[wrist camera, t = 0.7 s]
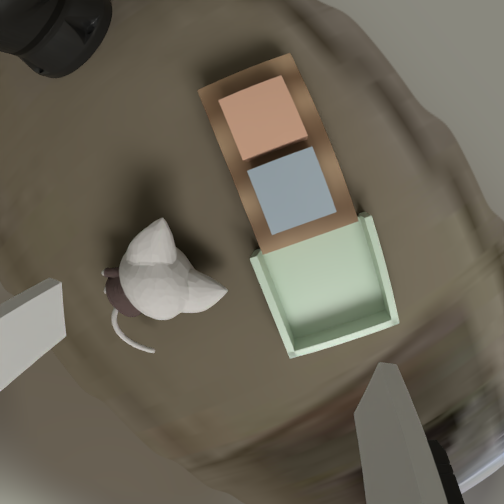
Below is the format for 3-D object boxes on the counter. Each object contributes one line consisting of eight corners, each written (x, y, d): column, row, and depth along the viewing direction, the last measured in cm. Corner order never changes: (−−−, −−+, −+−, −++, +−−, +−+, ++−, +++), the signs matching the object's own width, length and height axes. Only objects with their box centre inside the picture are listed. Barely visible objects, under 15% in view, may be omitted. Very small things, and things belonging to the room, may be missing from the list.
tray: (254, 250, 35) (249, 258, 32) (364, 211, 33) (371, 215, 29) (291, 343, 38) (290, 358, 34) (391, 310, 35) (399, 323, 31)
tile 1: (251, 171, 30) (246, 170, 27) (310, 149, 28) (312, 146, 25) (274, 229, 31) (272, 235, 28) (333, 208, 29) (336, 212, 26)
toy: (161, 311, 44) (244, 281, 38) (140, 361, 38) (230, 341, 31) (97, 248, 38) (173, 196, 31) (63, 296, 31) (137, 250, 25)
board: (208, 98, 32) (197, 90, 28) (291, 65, 30) (289, 52, 26) (266, 246, 35) (262, 254, 31) (351, 215, 33) (358, 221, 29)
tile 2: (225, 107, 28) (218, 100, 25) (283, 84, 27) (281, 75, 24) (248, 161, 29) (242, 160, 26) (306, 139, 28) (307, 135, 25)
